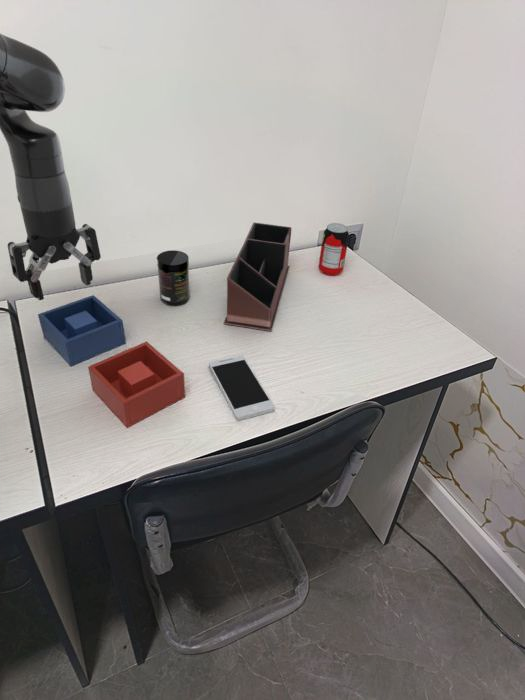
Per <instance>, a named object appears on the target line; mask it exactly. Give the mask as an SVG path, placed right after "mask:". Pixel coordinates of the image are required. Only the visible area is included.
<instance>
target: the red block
mask: <svg viewBox="0 0 525 700" xmlns="http://www.w3.org/2000/svg"><path fill="white" fill-rule="evenodd" d="M118 377H119V384H120V390H121V391H122V392H123V393H124V394H125V395H126V396H127V397H130V396H132V395H134V394H136V393H138V392H140V391H142V390H144V389H147V388H149V387H151V386H153V385H155V375H154V373H153V372H152V371H151V370H150V369H149V368H147V367H146V366H145V365H144V364H143V363H142V362H141V361H139V362H137V363H135V364H132V365H130V366H128V367H126V368H124V369H121V370H119V371H118Z"/></svg>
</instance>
